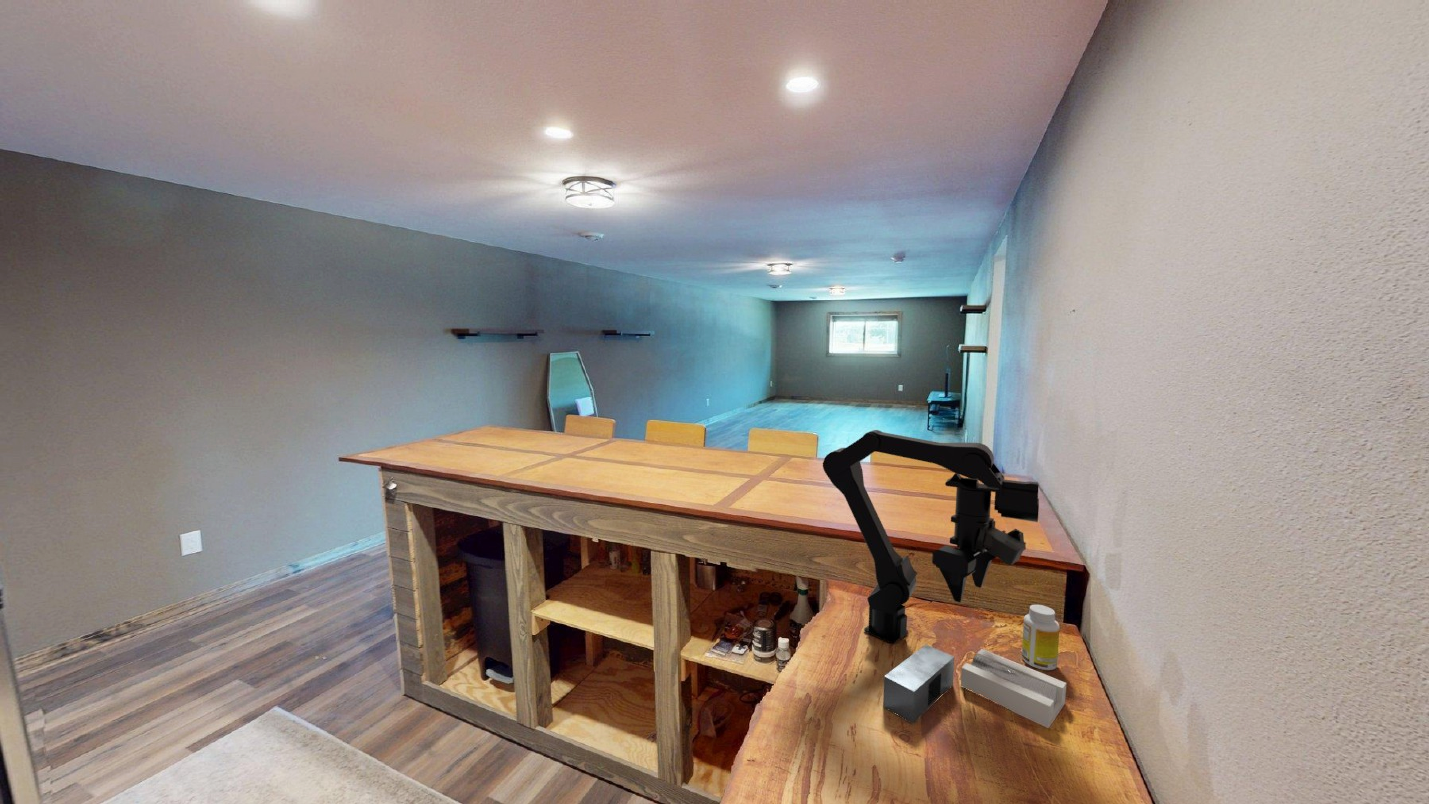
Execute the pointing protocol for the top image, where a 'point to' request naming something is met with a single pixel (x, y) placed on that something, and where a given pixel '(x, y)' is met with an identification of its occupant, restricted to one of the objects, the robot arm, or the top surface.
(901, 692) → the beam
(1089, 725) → the top surface
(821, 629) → the top surface
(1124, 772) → the top surface
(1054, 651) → the supplement bottle
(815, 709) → the top surface
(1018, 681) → the axle
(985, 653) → the cradle
